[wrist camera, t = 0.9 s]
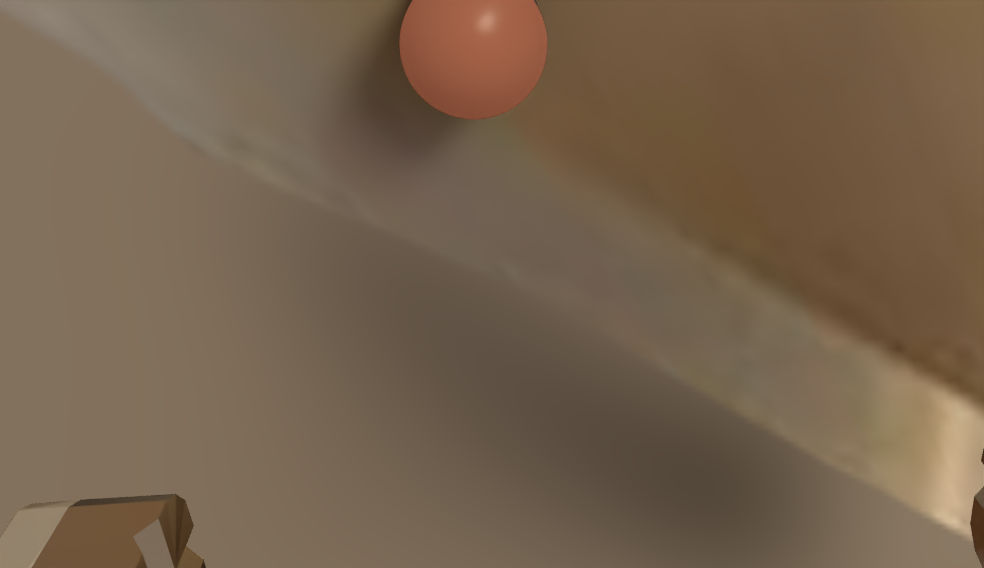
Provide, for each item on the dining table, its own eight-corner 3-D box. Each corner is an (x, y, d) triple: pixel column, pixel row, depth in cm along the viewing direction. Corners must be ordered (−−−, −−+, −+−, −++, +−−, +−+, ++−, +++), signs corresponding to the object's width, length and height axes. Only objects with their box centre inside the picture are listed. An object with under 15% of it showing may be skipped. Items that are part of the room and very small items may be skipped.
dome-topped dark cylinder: (496, -81, 35) (501, -61, 28) (554, 29, 37) (573, 74, 29) (392, -17, 36) (370, 18, 29) (453, 86, 38) (447, 144, 30)
